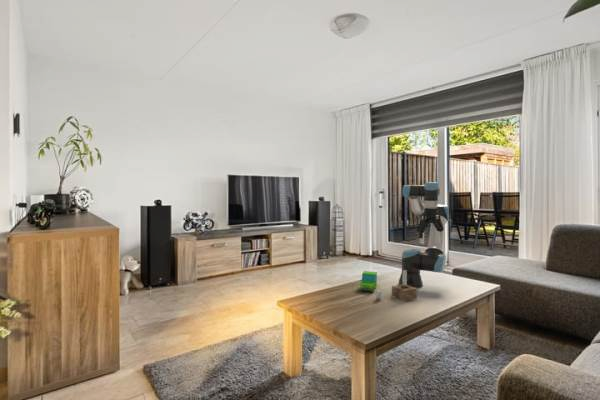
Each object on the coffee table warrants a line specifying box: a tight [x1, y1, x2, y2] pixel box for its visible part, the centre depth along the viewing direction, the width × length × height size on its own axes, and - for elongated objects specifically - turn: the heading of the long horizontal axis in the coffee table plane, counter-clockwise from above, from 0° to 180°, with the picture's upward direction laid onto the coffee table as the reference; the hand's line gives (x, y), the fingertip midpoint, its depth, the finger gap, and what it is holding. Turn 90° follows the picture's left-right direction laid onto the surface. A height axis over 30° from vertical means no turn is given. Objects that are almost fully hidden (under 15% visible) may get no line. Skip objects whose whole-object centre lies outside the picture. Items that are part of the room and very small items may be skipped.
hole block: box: [391, 284, 418, 302], centre depth 200 cm, size 10×10×6 cm
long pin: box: [402, 270, 407, 289], centre depth 200 cm, size 2×2×16 cm
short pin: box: [375, 290, 382, 302], centre depth 195 cm, size 2×2×5 cm
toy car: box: [359, 270, 378, 293], centre depth 214 cm, size 10×13×10 cm
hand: (430, 242), depth 204 cm, fingers open, 13 cm apart
